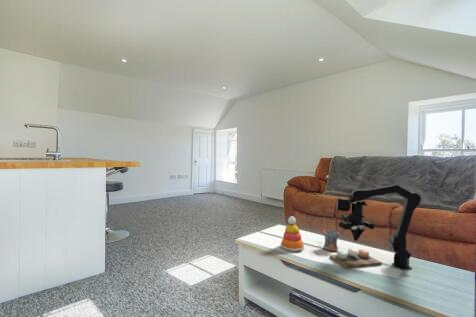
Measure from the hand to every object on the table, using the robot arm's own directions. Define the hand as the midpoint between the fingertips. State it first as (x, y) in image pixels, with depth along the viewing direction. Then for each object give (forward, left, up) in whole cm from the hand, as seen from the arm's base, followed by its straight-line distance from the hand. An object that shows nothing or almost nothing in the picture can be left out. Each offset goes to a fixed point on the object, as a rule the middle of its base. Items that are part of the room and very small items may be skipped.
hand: (355, 240), depth 129 cm
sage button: (+9, 0, -8) cm, 12 cm away
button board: (+2, +2, -11) cm, 11 cm away
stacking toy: (+27, -22, -11) cm, 36 cm away
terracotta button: (-5, 0, -8) cm, 10 cm away
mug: (+3, -17, -11) cm, 20 cm away
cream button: (+2, 0, -7) cm, 7 cm away
